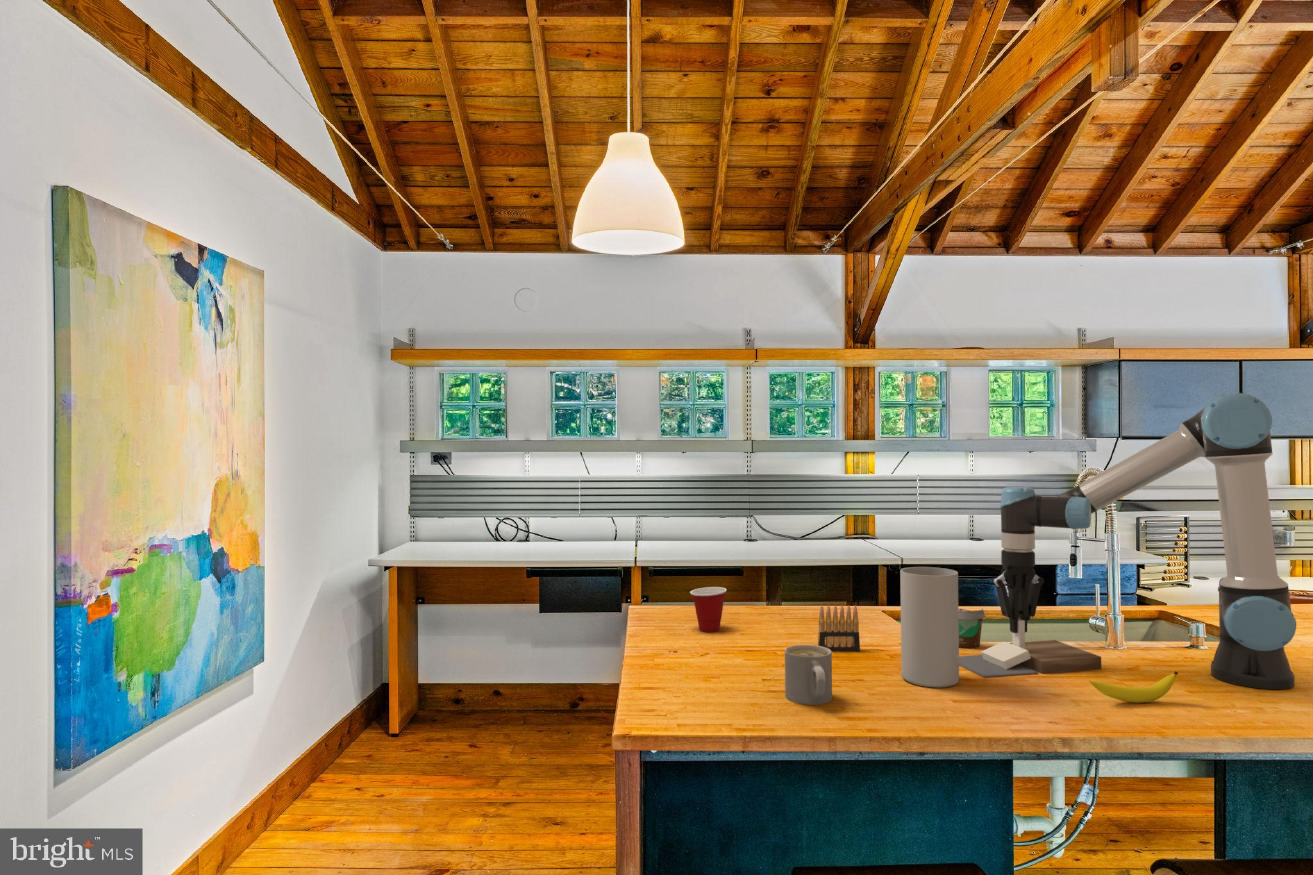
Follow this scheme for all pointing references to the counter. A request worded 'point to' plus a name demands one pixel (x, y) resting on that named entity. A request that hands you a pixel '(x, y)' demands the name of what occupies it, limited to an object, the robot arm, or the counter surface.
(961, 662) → the charcoal mat
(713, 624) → the plastic cup
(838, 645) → the ammunition clip
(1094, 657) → the walnut board
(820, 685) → the coffee mug
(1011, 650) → the ceramic tile
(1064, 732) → the counter surface
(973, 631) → the food container
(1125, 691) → the banana
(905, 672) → the cylinder vase
